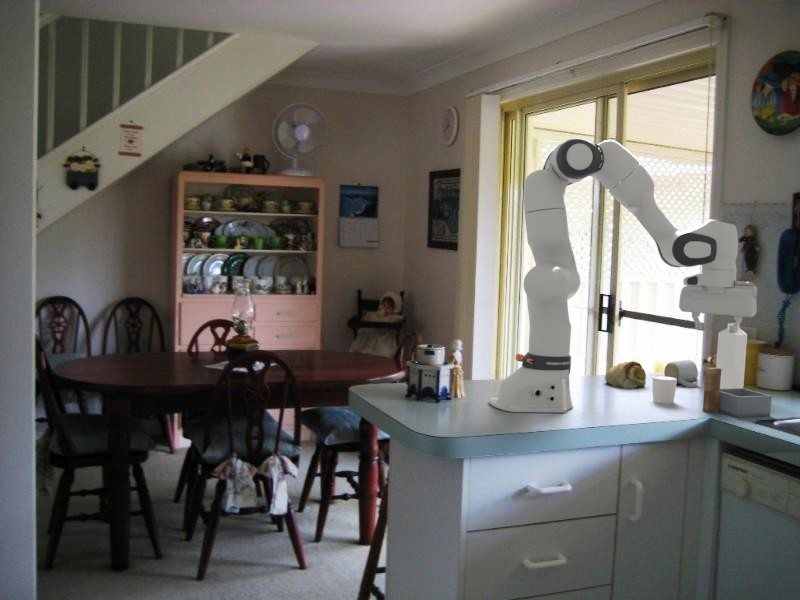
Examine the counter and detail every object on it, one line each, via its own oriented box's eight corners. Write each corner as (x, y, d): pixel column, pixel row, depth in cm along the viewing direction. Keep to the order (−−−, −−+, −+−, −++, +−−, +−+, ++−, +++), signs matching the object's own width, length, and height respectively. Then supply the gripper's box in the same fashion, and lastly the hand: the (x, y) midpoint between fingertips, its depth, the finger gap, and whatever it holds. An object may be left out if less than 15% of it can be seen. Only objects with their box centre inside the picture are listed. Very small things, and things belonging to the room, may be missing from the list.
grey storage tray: (737, 417, 227) (738, 397, 226) (709, 408, 237) (710, 389, 236) (770, 415, 230) (771, 395, 230) (741, 407, 241) (742, 388, 240)
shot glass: (677, 404, 240) (678, 380, 240) (651, 403, 242) (653, 378, 241) (674, 400, 247) (676, 376, 246) (649, 398, 248) (651, 374, 248)
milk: (713, 394, 260) (718, 322, 258) (725, 392, 263) (730, 321, 262) (731, 397, 255) (736, 324, 253) (743, 395, 258) (748, 323, 257)
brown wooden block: (707, 412, 231) (710, 369, 230) (702, 411, 233) (705, 367, 232) (718, 412, 232) (721, 368, 231) (713, 410, 234) (716, 367, 233)
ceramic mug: (661, 381, 278) (663, 358, 277) (681, 381, 281) (683, 358, 280) (683, 388, 268) (685, 364, 267) (704, 387, 271) (706, 363, 270)
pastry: (641, 391, 261) (643, 365, 260) (600, 386, 266) (602, 360, 265) (649, 384, 273) (650, 359, 273) (609, 379, 279) (611, 355, 278)
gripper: (762, 282, 225) (759, 333, 226) (687, 277, 239) (685, 326, 240) (753, 282, 221) (750, 335, 222) (677, 278, 235) (675, 328, 236)
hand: (715, 331), depth 231 cm, fingers open, 8 cm apart
